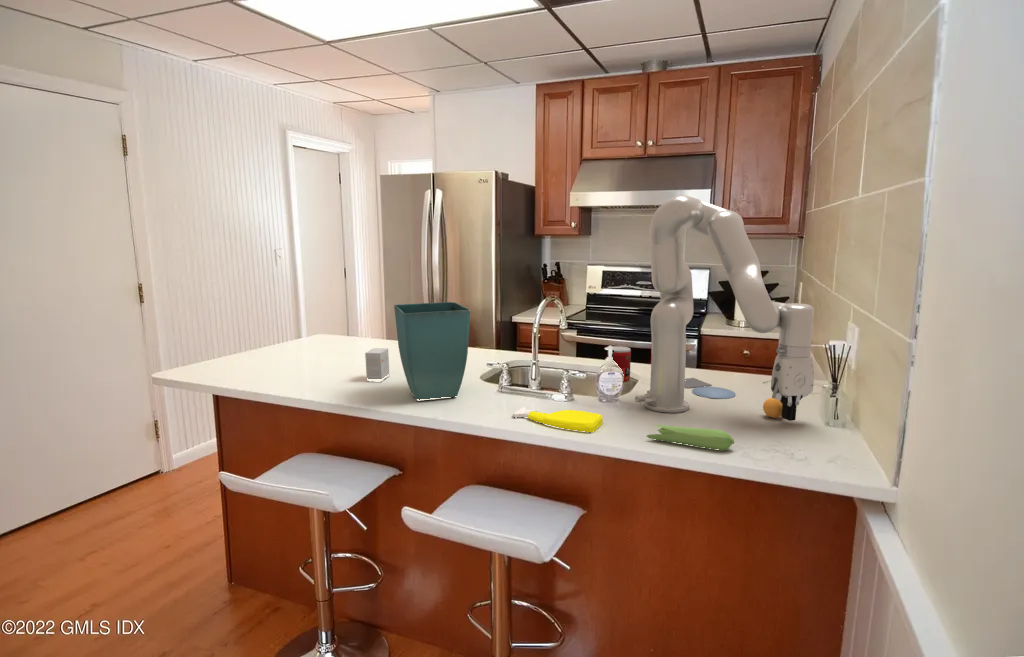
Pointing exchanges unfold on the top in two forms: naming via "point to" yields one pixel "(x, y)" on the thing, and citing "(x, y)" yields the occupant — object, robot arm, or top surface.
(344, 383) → the top surface
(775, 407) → the ball
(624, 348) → the canned food
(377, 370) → the small box
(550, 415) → the spray bottle
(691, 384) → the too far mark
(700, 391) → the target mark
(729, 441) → the edible corn
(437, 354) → the flower pot
